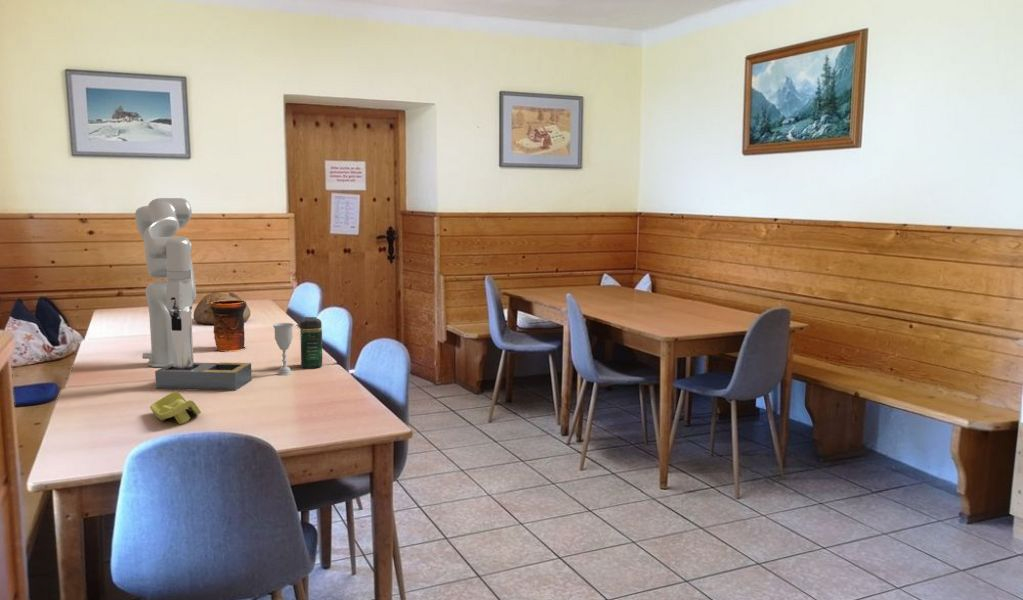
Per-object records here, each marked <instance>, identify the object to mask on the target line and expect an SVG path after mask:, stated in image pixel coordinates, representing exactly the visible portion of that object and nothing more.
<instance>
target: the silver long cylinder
mask: <svg viewBox="0 0 1023 600" xmlns="http://www.w3.org/2000/svg"><path fill="white" fill-rule="evenodd" d="M174 309H178V308H174ZM191 312H192V309H190V308H189V307H186V308H184V309H183V310H181V315H180V319H181V322H182V330H181V331H173V330H172V349H173V368H174V370H192V369H194V363H195V362H194V345H193V339H194V338H193V322H192V314H191ZM176 313H178V312H176ZM171 329H172V324H171Z"/></svg>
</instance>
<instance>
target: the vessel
mask: <svg viewBox="0 0 1023 600" xmlns="http://www.w3.org/2000/svg"><path fill="white" fill-rule="evenodd" d="M246 304H247V302H246V301H245V300H244V301H239V300H220V301H214V302H211V303H210V308H211V309H212V311H213V315H214V324H213V334H214V337H213V338H214V341H215V346H216V347H215V348H216V349H215V348H214V350H215V351H221V352H225V353H226V352H227V351H229V353H230V352H240V350H241V349H244V348H245V347H246V346H245V342H246V341H245V339H246V338H245V322H244V317H243V313H244V310H245V308H246ZM244 346H245V347H244ZM245 349H246V348H245ZM245 349H244V350H245ZM241 351H242V350H241Z"/></svg>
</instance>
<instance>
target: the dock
mask: <svg viewBox="0 0 1023 600" xmlns="http://www.w3.org/2000/svg"><path fill="white" fill-rule="evenodd" d="M154 373H155V374H154V375H155V389H156V390H187V389H197V390H198V389H199V390H198V391H201V390H202V391H237V390H239V389H240V388H242V387H244V386H245V385H247V384H248V383H250V382H252V380H253V379H252V363H251V362H221V361H220V362H194V369H192V370H174V368H173V363H172V364H170V365H168V366H166V367H160V368H159V369H157V370H155V371H154ZM197 390H196V391H197Z"/></svg>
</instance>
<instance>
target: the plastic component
mask: <svg viewBox="0 0 1023 600" xmlns="http://www.w3.org/2000/svg"><path fill="white" fill-rule="evenodd" d="M149 408H150V410H151V412H152V413H153V415H154V416H155V417H157V418H158V419H159V420H160V421H161V422H164V421H165V420H166V419H167V420H168V419H170V418H174V419H175V420H176V422H177V423H178V424H179V425H182V424H185V423H187V422H188V421H189V420H190V419H191V416H190V415H189V414H188V412H187V410H189V411H190V412H192V413H193V414H194V415H197V416H199V415H200V414H202V411H201V409H200V408H199V407H198V405H197V404H196V403H195V401H193V400H191V399H190V400H186V399H185V398H184V397H183V396H182V394H180V392H179V391H172V392H171V393H168V394H167V395H165V396H164V397H162V398H160V399H159V400H156V401H154V403H152V404H151V405H150V406H149ZM186 409H187V410H186Z"/></svg>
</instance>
